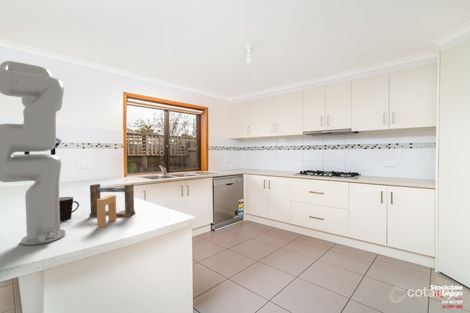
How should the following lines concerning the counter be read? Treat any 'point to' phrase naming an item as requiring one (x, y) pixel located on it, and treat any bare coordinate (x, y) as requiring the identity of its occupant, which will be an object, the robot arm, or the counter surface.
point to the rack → (127, 189)
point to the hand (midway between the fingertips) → (40, 156)
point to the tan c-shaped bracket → (101, 210)
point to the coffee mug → (66, 207)
